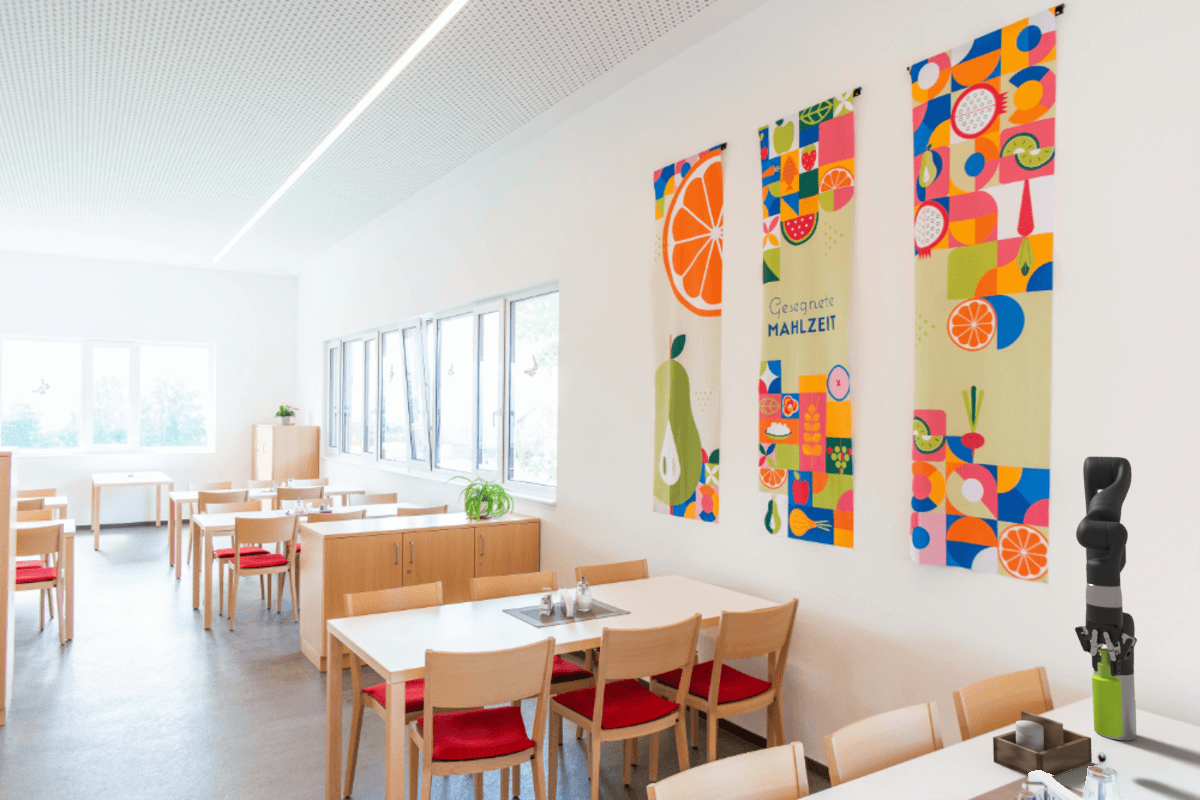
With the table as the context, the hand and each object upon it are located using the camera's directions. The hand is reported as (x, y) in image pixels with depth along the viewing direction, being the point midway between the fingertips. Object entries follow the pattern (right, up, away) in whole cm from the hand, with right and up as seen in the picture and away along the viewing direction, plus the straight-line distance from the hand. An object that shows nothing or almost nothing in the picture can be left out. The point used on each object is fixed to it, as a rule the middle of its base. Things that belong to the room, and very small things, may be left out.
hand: (1106, 672), depth 188 cm
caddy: (-14, -23, +3) cm, 27 cm away
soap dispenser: (0, -14, -1) cm, 14 cm away
